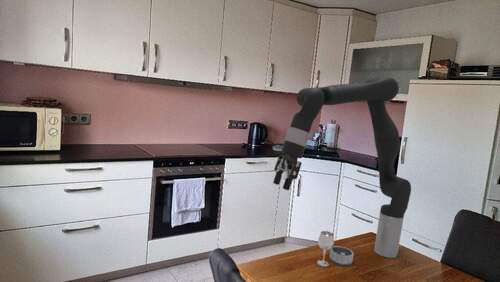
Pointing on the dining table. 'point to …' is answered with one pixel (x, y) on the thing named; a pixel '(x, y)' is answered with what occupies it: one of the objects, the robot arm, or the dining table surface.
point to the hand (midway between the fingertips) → (280, 186)
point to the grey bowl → (341, 256)
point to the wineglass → (325, 245)
